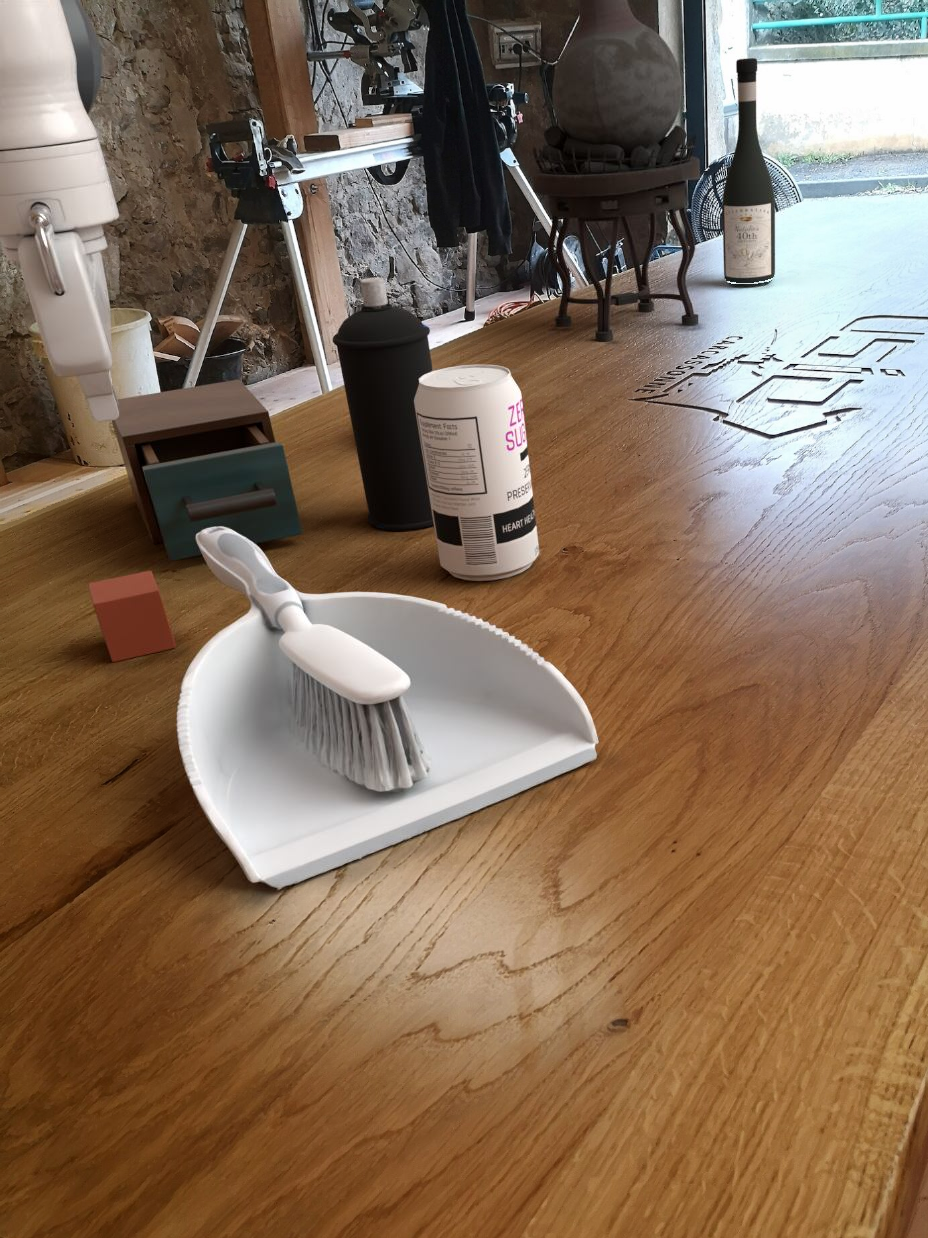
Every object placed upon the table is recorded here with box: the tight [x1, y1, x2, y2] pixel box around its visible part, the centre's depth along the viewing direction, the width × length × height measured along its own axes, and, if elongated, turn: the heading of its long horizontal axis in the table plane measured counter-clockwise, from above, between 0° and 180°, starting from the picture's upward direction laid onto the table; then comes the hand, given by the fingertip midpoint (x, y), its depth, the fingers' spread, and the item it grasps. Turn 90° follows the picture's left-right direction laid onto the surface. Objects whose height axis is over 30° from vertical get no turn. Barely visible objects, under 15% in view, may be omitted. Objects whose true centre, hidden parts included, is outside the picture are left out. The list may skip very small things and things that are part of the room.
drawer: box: [138, 423, 303, 562], centre depth 109 cm, size 18×11×8 cm, turn 25°
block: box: [87, 570, 177, 663], centre depth 92 cm, size 5×5×5 cm
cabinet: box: [111, 379, 276, 545], centre depth 117 cm, size 15×13×10 cm
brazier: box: [531, 0, 701, 342], centre depth 165 cm, size 22×22×45 cm
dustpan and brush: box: [176, 526, 600, 891], centre depth 79 cm, size 23×33×10 cm
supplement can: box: [414, 363, 540, 582], centre depth 98 cm, size 8×8×15 cm
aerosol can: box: [332, 276, 434, 532], centre depth 108 cm, size 8×8×20 cm
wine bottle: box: [721, 57, 776, 288], centre depth 188 cm, size 8×8×30 cm
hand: (107, 416), depth 88 cm, fingers closed
